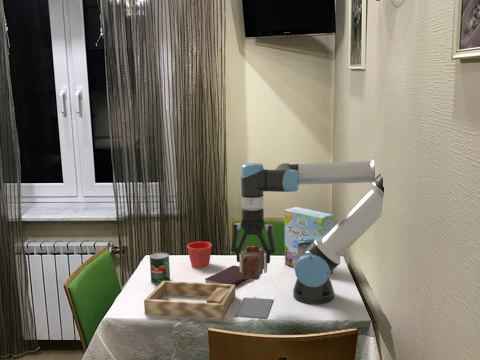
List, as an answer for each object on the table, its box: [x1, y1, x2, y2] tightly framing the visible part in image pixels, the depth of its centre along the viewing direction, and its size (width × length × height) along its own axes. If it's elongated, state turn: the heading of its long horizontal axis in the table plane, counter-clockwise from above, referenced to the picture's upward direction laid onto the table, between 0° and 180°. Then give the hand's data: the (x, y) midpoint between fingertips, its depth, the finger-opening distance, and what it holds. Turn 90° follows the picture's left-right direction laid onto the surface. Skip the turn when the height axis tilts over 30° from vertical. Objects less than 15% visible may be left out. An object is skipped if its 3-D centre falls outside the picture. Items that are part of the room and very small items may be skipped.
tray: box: [143, 280, 236, 320], centre depth 187 cm, size 28×19×5 cm
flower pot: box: [186, 241, 213, 269], centre depth 230 cm, size 11×11×10 cm
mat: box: [234, 297, 274, 319], centre depth 184 cm, size 11×16×1 cm
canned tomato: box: [149, 252, 171, 285], centre depth 212 cm, size 8×8×11 cm
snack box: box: [283, 206, 335, 275], centre depth 221 cm, size 22×9×26 cm, turn 42°
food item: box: [241, 245, 265, 281], centre depth 181 cm, size 14×8×10 cm, turn 173°
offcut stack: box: [206, 288, 229, 304], centre depth 185 cm, size 6×15×5 cm, turn 168°
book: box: [204, 265, 251, 288], centre depth 212 cm, size 12×19×3 cm, turn 144°
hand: (253, 271), depth 181 cm, fingers closed on food item, 8 cm apart
